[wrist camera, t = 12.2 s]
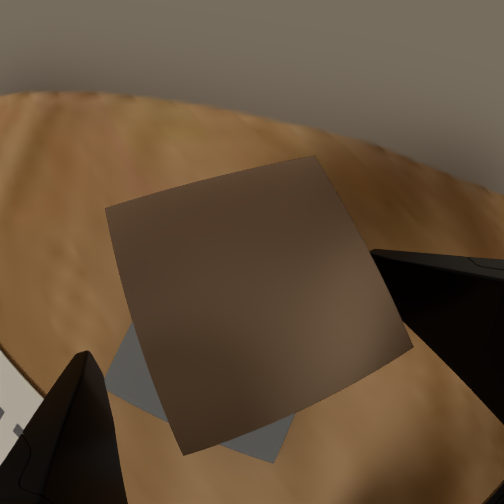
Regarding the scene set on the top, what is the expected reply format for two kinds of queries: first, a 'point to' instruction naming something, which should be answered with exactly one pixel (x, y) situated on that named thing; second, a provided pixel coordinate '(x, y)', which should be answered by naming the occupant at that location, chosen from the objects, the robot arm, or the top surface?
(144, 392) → the rubber mat
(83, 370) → the robot arm
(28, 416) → the card
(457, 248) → the top surface
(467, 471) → the top surface
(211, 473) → the top surface
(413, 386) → the top surface
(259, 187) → the walnut block
